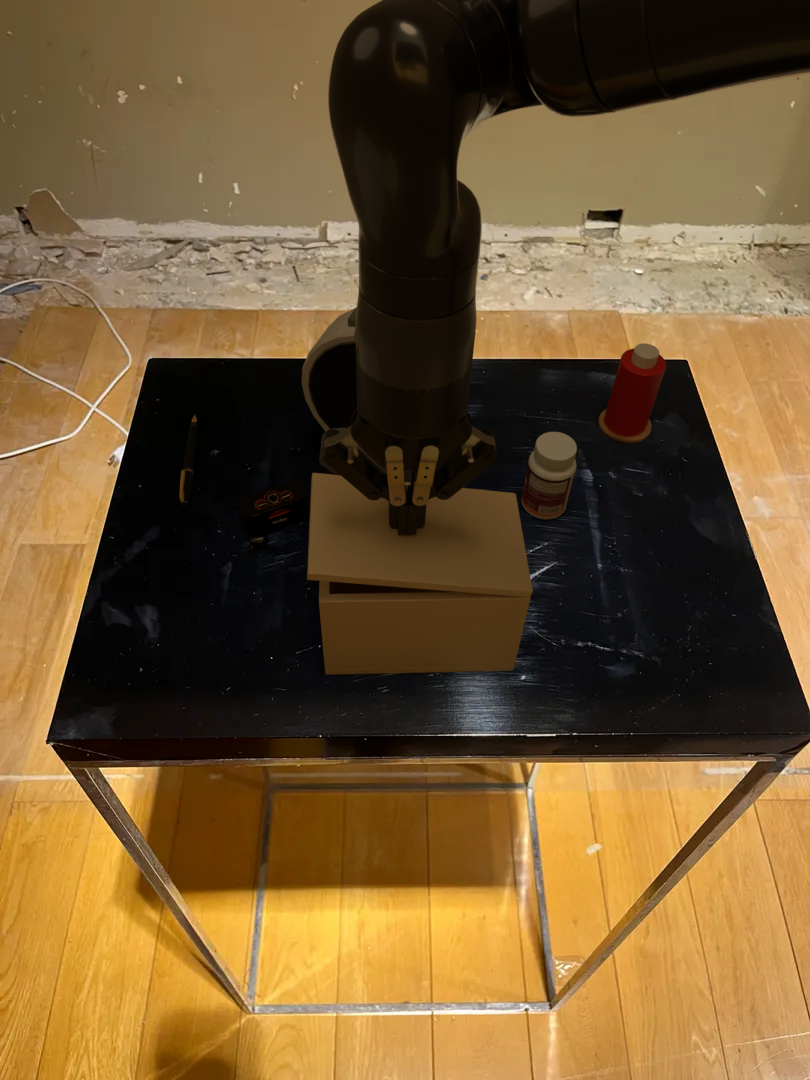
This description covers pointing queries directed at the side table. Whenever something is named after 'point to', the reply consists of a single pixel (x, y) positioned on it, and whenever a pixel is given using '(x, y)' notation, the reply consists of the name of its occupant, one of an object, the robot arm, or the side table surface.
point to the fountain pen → (188, 464)
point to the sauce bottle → (634, 390)
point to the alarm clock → (334, 381)
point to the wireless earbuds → (272, 510)
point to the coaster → (623, 438)
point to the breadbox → (417, 629)
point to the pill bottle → (549, 475)
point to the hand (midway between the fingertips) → (406, 526)
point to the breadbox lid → (418, 542)
